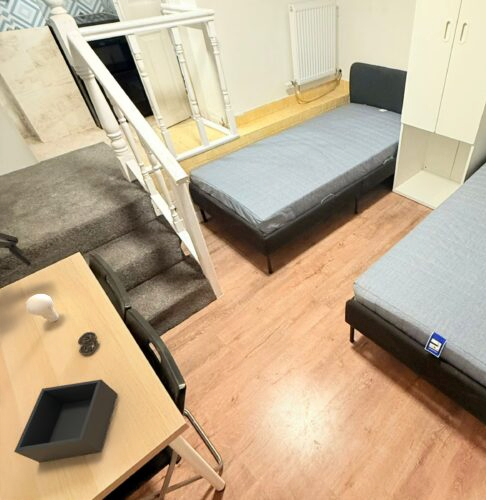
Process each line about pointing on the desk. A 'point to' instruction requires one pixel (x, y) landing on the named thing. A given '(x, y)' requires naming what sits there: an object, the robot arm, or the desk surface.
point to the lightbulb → (42, 307)
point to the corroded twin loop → (87, 343)
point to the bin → (68, 421)
